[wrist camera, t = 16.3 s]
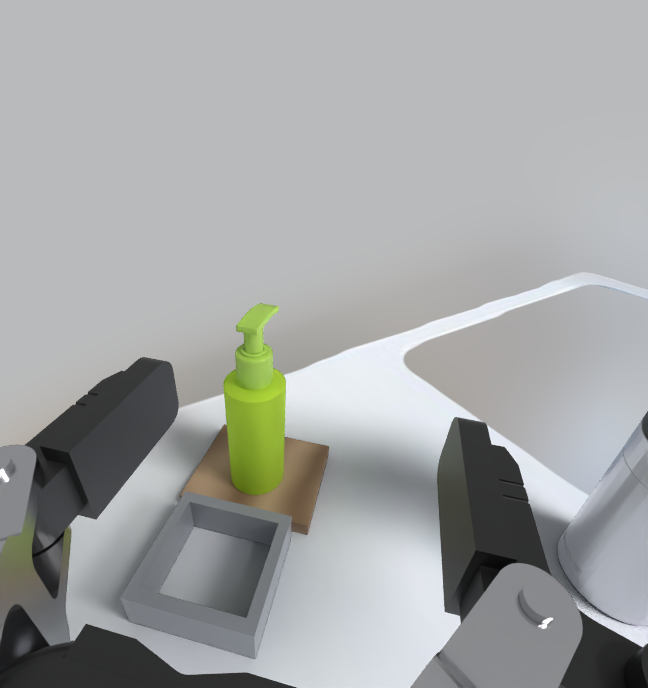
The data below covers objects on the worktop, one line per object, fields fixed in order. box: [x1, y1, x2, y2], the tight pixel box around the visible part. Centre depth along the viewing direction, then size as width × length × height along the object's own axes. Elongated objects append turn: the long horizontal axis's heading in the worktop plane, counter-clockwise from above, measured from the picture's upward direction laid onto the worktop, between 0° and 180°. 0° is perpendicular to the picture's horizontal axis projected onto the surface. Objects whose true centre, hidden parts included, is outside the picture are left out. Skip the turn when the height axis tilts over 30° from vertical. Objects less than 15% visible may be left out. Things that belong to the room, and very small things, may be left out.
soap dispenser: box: [224, 303, 286, 495], centre depth 38 cm, size 6×7×20 cm
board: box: [180, 424, 329, 535], centre depth 44 cm, size 14×11×2 cm
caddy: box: [120, 491, 292, 659], centre depth 34 cm, size 11×10×4 cm
